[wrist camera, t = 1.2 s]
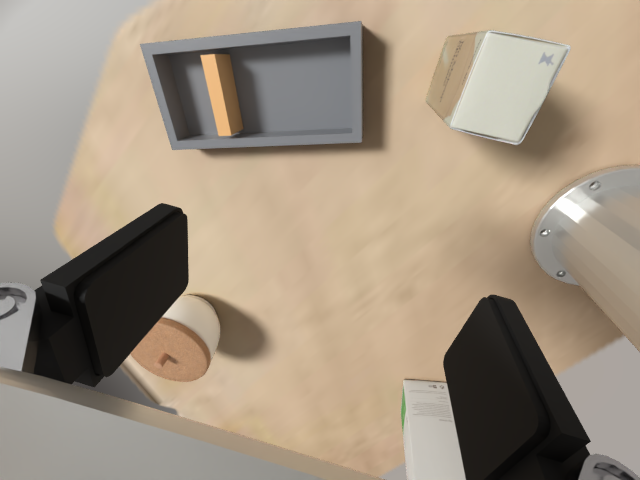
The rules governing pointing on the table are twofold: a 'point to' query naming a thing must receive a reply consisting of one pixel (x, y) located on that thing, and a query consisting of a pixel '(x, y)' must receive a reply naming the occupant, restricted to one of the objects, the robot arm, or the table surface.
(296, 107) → the gray tray
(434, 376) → the table surface
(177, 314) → the lidded jar
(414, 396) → the skincare box
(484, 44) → the box
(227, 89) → the block
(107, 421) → the robot arm
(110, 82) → the table surface
